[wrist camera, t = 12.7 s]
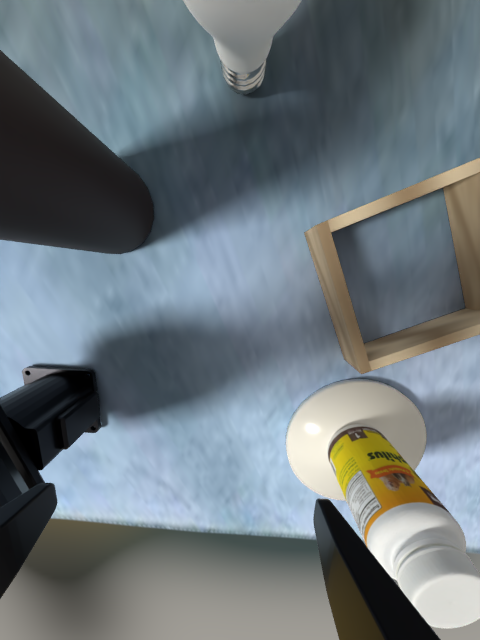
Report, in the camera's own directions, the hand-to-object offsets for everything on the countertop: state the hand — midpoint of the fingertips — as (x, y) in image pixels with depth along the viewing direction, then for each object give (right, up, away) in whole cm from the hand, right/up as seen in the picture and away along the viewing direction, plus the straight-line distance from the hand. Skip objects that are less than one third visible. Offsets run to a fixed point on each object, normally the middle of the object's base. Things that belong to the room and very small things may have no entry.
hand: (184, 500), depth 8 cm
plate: (+13, -6, +14) cm, 20 cm away
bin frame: (+15, +10, +11) cm, 21 cm away
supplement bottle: (+13, -6, +14) cm, 20 cm away
